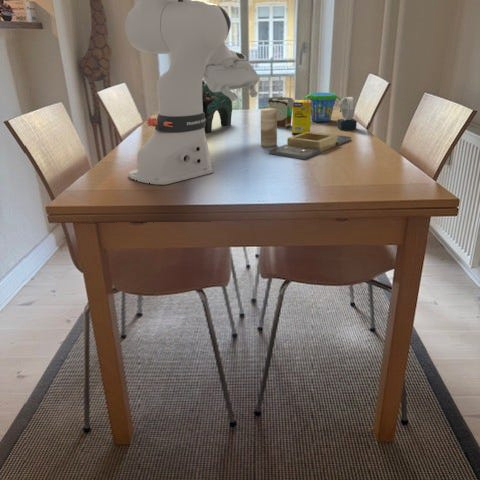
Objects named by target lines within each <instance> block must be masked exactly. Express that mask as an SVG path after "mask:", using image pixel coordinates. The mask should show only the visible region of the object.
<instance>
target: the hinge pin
mask: <svg viewBox="0 0 480 480" xmlns="http://www.w3.org/2000/svg"><path fill="white" fill-rule="evenodd" d="M260 146H261V148H277V147H278V127H277V109H275V108H269V107H268V108H261V109H260Z"/></svg>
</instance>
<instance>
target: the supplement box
mask: <svg viewBox="0 0 480 480" xmlns="http://www.w3.org/2000/svg"><path fill="white" fill-rule="evenodd" d="M293 100H294V102H293V109H292V119H291V136H295V135H298V134H301V133H304V132H311V121H312V119H311V100H310V99H305V100H303V99H293Z"/></svg>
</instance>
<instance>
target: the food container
mask: <svg viewBox="0 0 480 480" xmlns="http://www.w3.org/2000/svg"><path fill="white" fill-rule="evenodd" d="M294 100H295V99H294V98H293V97H288V96H287V97H285V96H272V97H271V96H270V97H268V99H267V104H268V108H275V109H277V128H281V129H289V128H292V116H293V102H294Z"/></svg>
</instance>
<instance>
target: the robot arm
mask: <svg viewBox="0 0 480 480" xmlns="http://www.w3.org/2000/svg"><path fill="white" fill-rule="evenodd" d="M125 18H126V19H125V25H124V29H125V35H126V38H127V40H128V42H129V43H130V45H131V46H132V47H133V48H134V49H136V50H137V51H140V52H145V53H149V54H153V55H156V54H157V55H162V54H163V55H166V54H167V55H171V62H170V65H169V67H168V69H167V71H166V72H164V73H163V74H161V75H160V77H158V79H157V82H156V95H157V104H158V105H157V106H158V114H157V117H156V118H154V117H153V118H152V117H148V118H147V120H146V122H145V123H146V125H147V126H149V127H153V128H154V129H155V130H154V132H153V133H152V134H151V136H150V137H149V138H148V140H147V141H146V142H145V143H144V144H143V145H142V147H140V149H139V150H138V152H137V158H136V166H137V167H136V169H133V170H131V171H129V172H128V177H129V179H131V180H133V179H134V180H133V181H136V180H137V181H136V182H140V183H144V184H149V183H150V184H149V185H169V184H174V183H178V182H181V181H185V180H189V179H193V178H197V177H200V176H206V175H209V174H212V173H214V167H213V164H212V161H211V156H210V151H209V145H208V139H207V136H206V133H205V130H204V127H205V126H206V124H205V121H206V119H205V113H204V112H203V102H202V82H203V80H204V83H206V84H207V86H208V87H209V89H210V90H211V91H212V92H221V91H222V93H223V94H225V95H226V96H227V97H229V98H230V100H231V101H232V102H234V101H236V100H238V95H237V93H236V92H232V91H233V90H234V91H235V90H238V89H248V90H249V91H250V92H249V94H248V95H250V97H251V98H256V97H257V96H258V91H257V90H256V85H257V84H258V82H259V81H260V77H259V76H260V75H259V74H258V72H257V71H256V70H255V68H254V67H253V65H252V64H251V63H250V62H249V61H247V56H246V55H245V54H244V53H239V52H236V51H235V50H231V49H230V48H229V47H228V46H227V44H225V41H226V40H227V38H228V36H229V34H230V33H229V32H230V30H231V27H232V25H231V24H232V23H231V22H232V21H231V19H230V17H229V14H228V12H227V11H226V10H225V9H224V8H223V7H222V6H221V5H219V4H216V3H210V2H206V1H199V0H137V1H136V3H135V4H134V6H133V7H132V8H131V10H129V12H128V14H127V15H126V17H125Z"/></svg>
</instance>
